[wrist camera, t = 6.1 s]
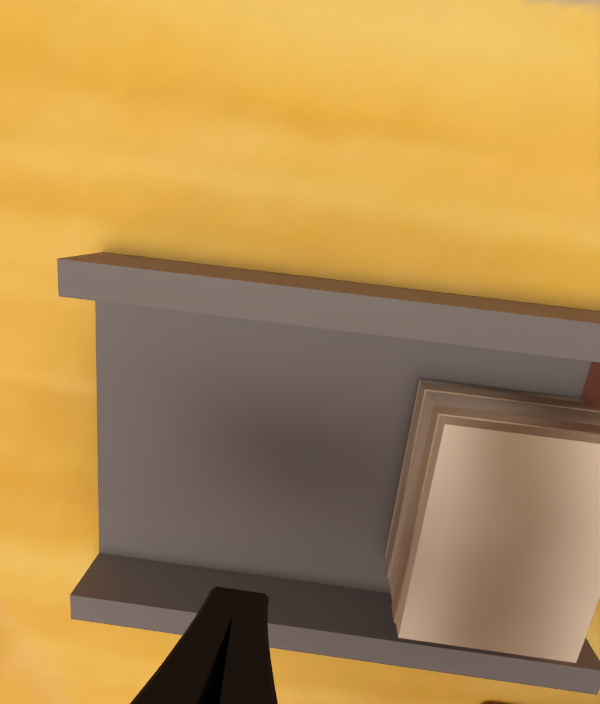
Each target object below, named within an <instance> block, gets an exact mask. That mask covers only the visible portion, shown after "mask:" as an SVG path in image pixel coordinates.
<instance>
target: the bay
mask: <svg viewBox="0 0 600 704" xmlns="http://www.w3.org/2000/svg"><path fill="white" fill-rule="evenodd" d="M57 264H58V290H59V296H61V297H69V298H77V299H85V300H94V301H95V303H96V367H97V431H98V495H99V554H98V556H97V557H96V559H95V560H94V561H93V563H92V564H91V566H90V567H89V569H88V570H87V571H86V573H85V574H84V576H83V577H82V579H81V580H80V582H79V583H78V584H77V586H76V587H75V589H74V590H73V592H72V593H71V595H70V603H71V619H75V620H82V621H89V622H96V623H103V624H110V625H117V626H124V627H131V628H138V629H145V630H152V631H159V632H166V633H172V634H179V635H183V634H184V633H185V631H186V630H187V628H188V627H189V625H190V624H191V622H192V621H193V619H194V618H195V616H196V615H197V613H198V612H199V610H200V608H201V607H202V605H203V603H204V601H205V600H206V598H207V596H208V594H209V592H210V590H211V589H213V588H214V587H216V586H217V587H224V588H231V589H238V590H245V591H252V592H258V593H265V594H266V595H267V596H268V597H269V603H268V638H269V647H270V648H277V649H283V650H290V651H297V652H304V653H311V654H318V655H325V656H332V657H339V658H346V659H353V660H360V661H367V662H374V663H381V664H387V665H394V666H401V667H408V668H415V669H422V670H429V671H436V672H443V673H450V674H457V675H464V676H471V677H478V678H485V679H491V680H498V681H505V682H512V683H519V684H526V685H533V686H540V687H547V688H554V689H561V690H568V691H575V692H582V693H589V694H596V695H597V693H598V691H599V688H600V661H599V659H598V657H597V656H596V654H595V652H594V651H593V649H592V648H591V646H590V644H589V643H588V641H587V639H586V638H585V640H584V643H583V645H582V648H581V651H580V654H579V656H578V659H577V662H576V663H573V662H566V661H558V660H551V659H544V658H537V657H530V656H523V655H516V654H509V653H502V652H495V651H488V650H481V649H474V648H467V647H460V646H453V645H446V644H439V643H432V642H425V641H418V640H411V639H404V638H398V634H397V627H396V623H394V620H393V614H392V607H391V606H392V597H391V590H390V584H389V579H388V578H387V576H386V569H385V563H386V560H385V552H386V547H387V542H388V537H389V531H390V526H391V521H392V516H393V511H394V506H395V501H396V496H397V490H398V485H399V480H400V475H401V470H402V465H403V460H404V454H405V449H406V444H407V439H408V434H409V429H410V424H411V419H412V413H413V408H414V403H415V398H416V393H417V388H418V383H419V379H425V380H433V381H441V382H449V383H457V384H465V385H473V386H481V387H489V388H497V389H505V390H513V391H521V392H529V393H537V394H545V395H553V396H561V397H569V398H577V399H582V400H583V401H584V402H586V403H590V404H592V405H593V406H595V407H596V408H598V409H599V410H600V312H599V311H591V310H583V309H574V308H566V307H557V306H549V305H541V304H532V303H524V302H515V301H507V300H499V299H490V298H482V297H473V296H465V295H457V294H448V293H440V292H431V291H423V290H415V289H406V288H398V287H389V286H381V285H373V284H364V283H356V282H347V281H339V280H330V279H322V278H314V277H305V276H297V275H288V274H280V273H272V272H263V271H255V270H246V269H238V268H230V267H221V266H213V265H204V264H196V263H188V262H179V261H171V260H162V259H154V258H146V257H137V256H129V255H120V254H112V253H104V252H102V253H94V254H87V255H80V256H73V257H66V258H59V259H57Z"/></svg>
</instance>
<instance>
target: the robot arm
mask: <svg viewBox="0 0 600 704" xmlns="http://www.w3.org/2000/svg"><path fill="white" fill-rule="evenodd" d="M268 603H269V597H268V596H267V595H266V594H265V593H258V592H252V591H245V590H238V589H231V588H224V587H217V586H216V587H214V588H213V589H211V590H210V592H209V594H208V596H207V598H206V600H205V601H204V603H203V605H202V607H201V608H200V610H199V612H198V613H197V615H196V616H195V618H194V619H193V621H192V622H191V624H190V625H189V627H188V628H187V630H186V631H185V633H184V634H183V636H182V637H181V639H180V640H179V641H178V643H177V644H176V645H175V647H174V648H173V650H172V651H171V652H170V654H169V655H168V657H167V658H166V659H165V661H164V662H163V663H162V665H161V666H160V667H159V669H158V670H157V671H156V672H155V674H154V675H153V676H152V677H151V678H150V680H149V681H148V682H147V683H146V685H145V686H144V687H143V688H142V690H141V691H140V692H139V693H138V695H137V696H136V697H135V698H134V700H133V701H132V702H131V703H130V704H278V703H277V697H276V692H275V686H274V679H273V672H272V666H271V659H270V650H269V638H268Z"/></svg>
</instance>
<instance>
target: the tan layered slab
mask: <svg viewBox="0 0 600 704" xmlns="http://www.w3.org/2000/svg"><path fill="white" fill-rule="evenodd" d="M385 560H386V563H385V569H386V576H387V578H388V579H389V584H390V590H391V597H392V606H391V607H392V614H393V620H394V623H396V627H397V634H398V638H404V639H411V640H418V641H425V642H432V643H439V644H446V645H453V646H460V647H467V648H474V649H481V650H488V651H495V652H502V653H509V654H516V655H523V656H530V657H537V658H544V659H551V660H558V661H566V662H573V663H576V662H577V659H578V656H579V654H580V651H581V648H582V645H583V643H584V640H585V637H586V635H587V632H588V629H589V626H590V624H591V621H592V618H593V615H594V613H595V610H596V607H597V604H598V602H599V599H600V410H599V409H598V408H596V407H595V406H593V405H592V404H590V403H586V402H584V401H583V400H582V399H577V398H569V397H561V396H553V395H545V394H537V393H529V392H521V391H513V390H505V389H497V388H489V387H481V386H473V385H465V384H457V383H449V382H441V381H433V380H425V379H419V383H418V388H417V393H416V398H415V403H414V408H413V413H412V419H411V424H410V429H409V434H408V439H407V444H406V449H405V454H404V460H403V465H402V470H401V475H400V480H399V485H398V490H397V496H396V501H395V506H394V511H393V516H392V521H391V526H390V531H389V537H388V542H387V547H386V552H385Z"/></svg>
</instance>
